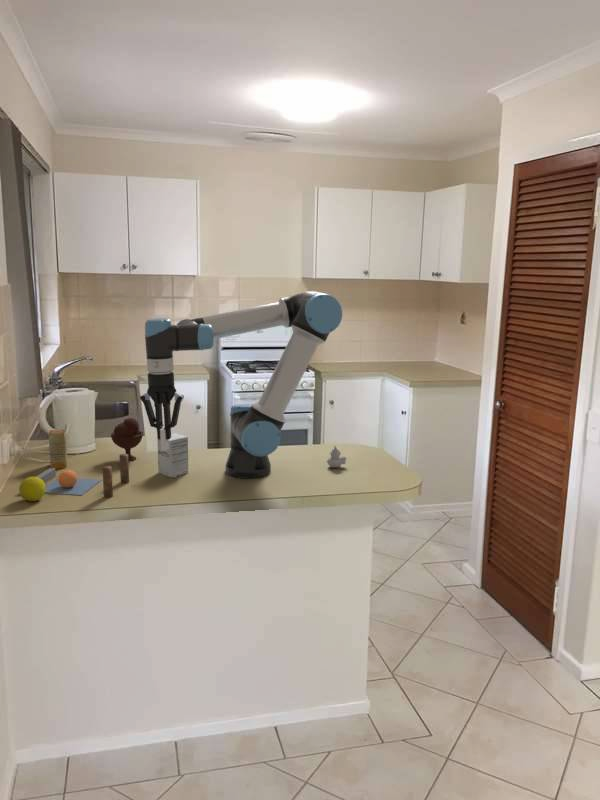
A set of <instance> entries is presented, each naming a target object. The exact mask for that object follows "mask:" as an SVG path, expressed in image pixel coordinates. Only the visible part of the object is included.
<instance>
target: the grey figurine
mask: <svg viewBox="0 0 600 800" xmlns="http://www.w3.org/2000/svg"><path fill="white" fill-rule="evenodd" d="M341 454H342V453H341V451H340V450H339V449H338V448H337V447H336V445H334V446H333V448H331V451H330V452H329V455H330V457H328V458H327V460H326V463H327V464H328V466H329V467H330V468H332V469H338V468H340V467H342V465H345V464H346V463H347V462H346V460H347V457H346V456H344V455H343V456H341Z"/></svg>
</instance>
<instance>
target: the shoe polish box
mask: <svg viewBox="0 0 600 800" xmlns="http://www.w3.org/2000/svg"><path fill="white" fill-rule="evenodd" d="M48 445H49V446H48V448H49V449H48V450H49V461H50V462H49V463H50V468H52V469H53V468H55V469H66V468H67V467H68V452H67V451H68V450H67V449H68V448H67V433H66V429H50V430H49V432H48Z"/></svg>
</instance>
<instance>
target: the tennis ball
mask: <svg viewBox="0 0 600 800" xmlns="http://www.w3.org/2000/svg"><path fill="white" fill-rule="evenodd" d="M19 484H20V485H19V489H18V491H19V495H20V496H21V498H22V499H23V500H25V501H27V502H35V501H39V500H40V499H41V498H43V497H44V495H45V494H46V493H45V489H46V488H45V487H46V483H44V482H43V480H42V479H40V478H38V477H36V476H29V477H27V478H26V477H25V479H23V480H22V481H21V482H20V483H19Z"/></svg>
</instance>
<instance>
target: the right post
mask: <svg viewBox="0 0 600 800" xmlns="http://www.w3.org/2000/svg"><path fill="white" fill-rule="evenodd" d="M129 466H130V465H129V462H128V454H126V453H121V454H119V475H120V484H123V485H125V484H126V483H127V484H129V483H130V472H129V471H130V467H129Z"/></svg>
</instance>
